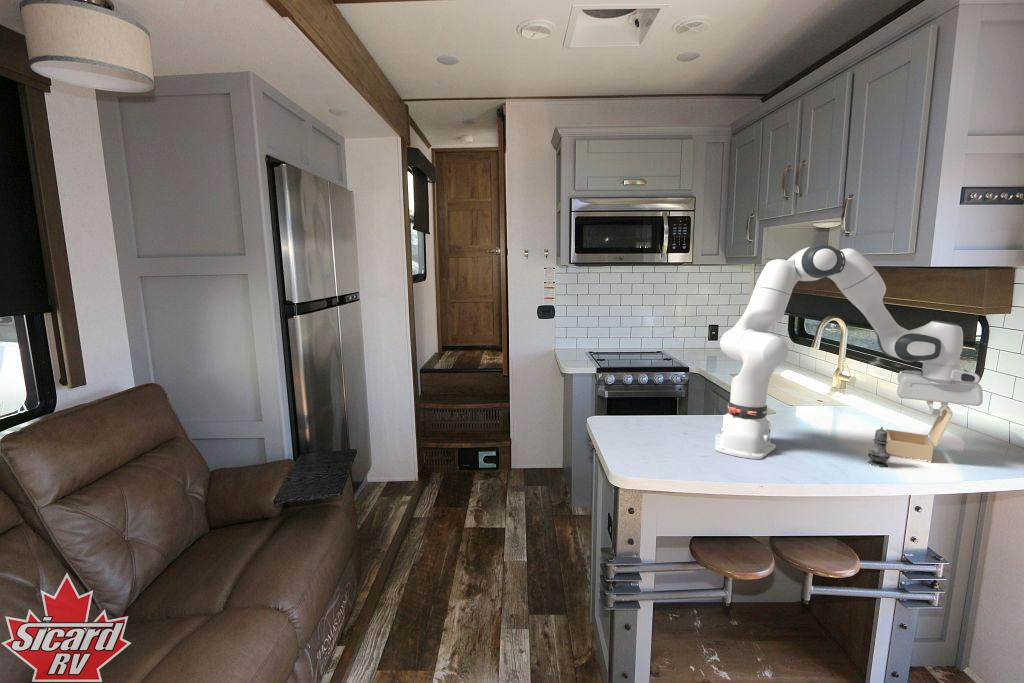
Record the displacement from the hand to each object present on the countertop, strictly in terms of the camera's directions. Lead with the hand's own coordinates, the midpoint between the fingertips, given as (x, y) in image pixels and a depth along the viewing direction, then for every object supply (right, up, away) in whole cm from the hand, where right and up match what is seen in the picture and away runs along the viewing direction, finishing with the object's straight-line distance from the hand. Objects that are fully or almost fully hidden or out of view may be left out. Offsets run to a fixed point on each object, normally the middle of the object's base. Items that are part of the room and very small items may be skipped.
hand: (935, 415), depth 153 cm
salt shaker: (-22, -15, -4) cm, 27 cm away
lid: (+1, -2, +1) cm, 3 cm away
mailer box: (-4, -13, +6) cm, 15 cm away
